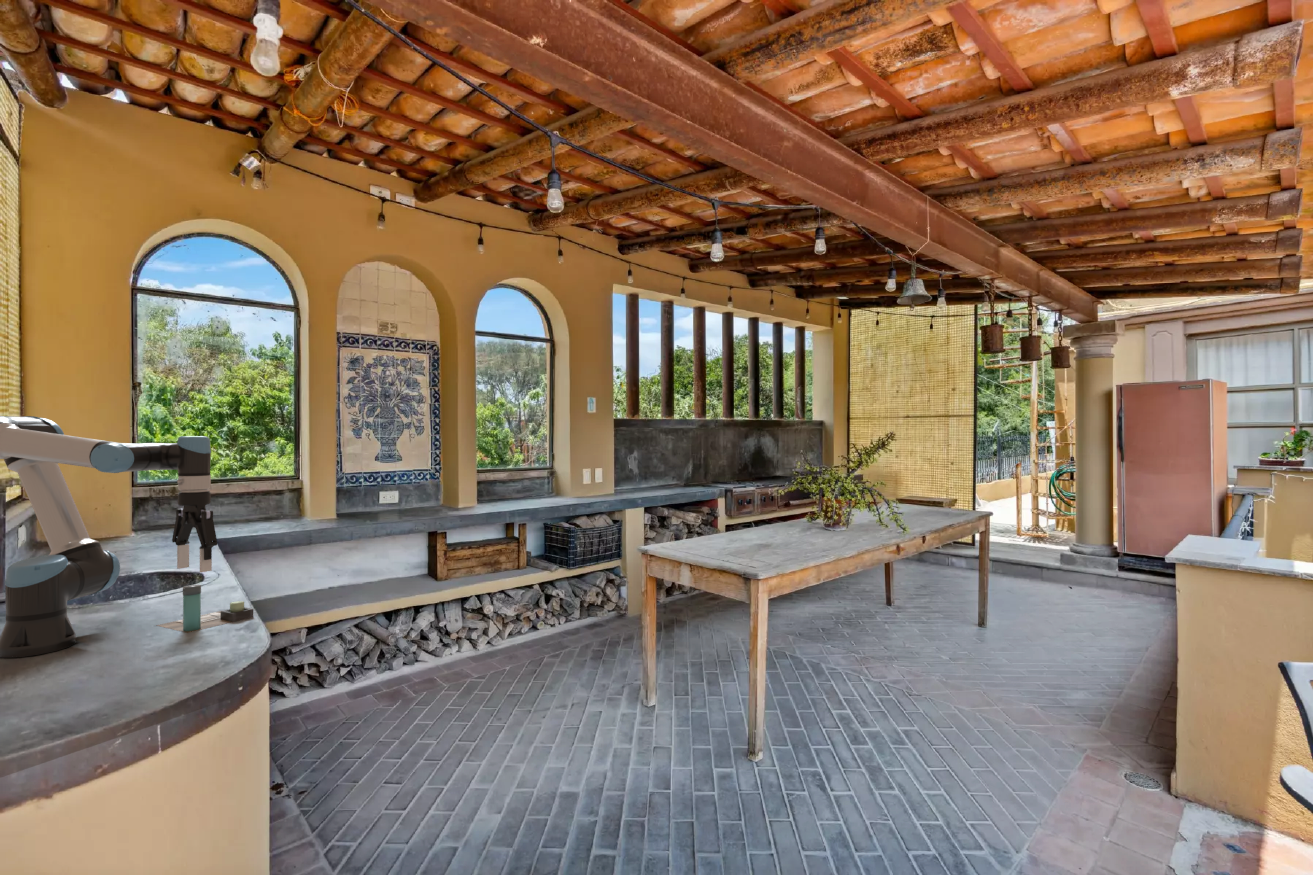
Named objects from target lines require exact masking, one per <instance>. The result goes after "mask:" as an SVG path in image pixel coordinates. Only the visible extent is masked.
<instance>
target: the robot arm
mask: <svg viewBox="0 0 1313 875" xmlns="http://www.w3.org/2000/svg"><path fill="white" fill-rule="evenodd" d="M211 455H212V450H211V439H210V437H208V436H205V435H204V436H203V435H200V436H198V435H197V436H195V435H186V436H185V435H184V436H179V437H178V438H177V442H175V443H169V442H167V443H166V442H144V443H143V442H141V443H139V442H138V443H136V442H135V443H127V442H117V441H108V440H101V439H94V438H88V437H81V436H80V437H79V436H73V435H67V434H65V433H64V431H63V429H62V428H61V426H60V425H59V424H57V423H56V422H54V421H53V420H51V419H49V418H44V417H38V416H32V415H29V416H28V415H27V416H16V415H13V416H12V415H9V416H7V415H0V460H3V461H4V463H5V466H6V468H7V470H10V471H12V472H15V473H17V475H18V477H19V480H20V481H21V484H22V486H23V488H24V491H25V493H26V495H27V498H28V499H29V502H30V506H31V507H32V510H33V511H34V514H35V516H36V518H37V520H38V523H39V525H40V528H41V530H42V532H43V535H44V537H45V539H46V542H47V544H48V546H49V549H50V553H49V554H48V555H46V554H44V555H39V556H37V557H35V556H34V557H30V558H24V559H21V560H19V561H15V562H14V563H12V564H10V565H9V566H8V567H7V569H6V573H5V578H4V579H5V580H4V585H5V586H4V589H5V595H4V596H5V623H4V627H3V628H2V631H1V633H0V658H2V659H3V658H4V659H5V658H7V659H8V658H9V659H10V658H11V659H13V658H14V659H15V658H24V657H25V658H26V657H31V656H32V657H33V656H39V655H44V654H49V653H52V652H57V651H61V650H64V649H67V648H70V647H72V646H74V645H75V644H76V642H77V640H76V636H77V635H76V634H77V633H76V632H75V630H74V628H73V625H72V623H71V620H70V618H69V617H68V601H71V600H75V599H79V598H83V597H86V596H93V595H96V594H99V592H103V591H106V590H108V589H109V588H111V587H112V586H113V585H114V584H115V583H116V582H117V579H118V577H119V576H120V573H121V563H120V559H119V558H118V556H117V555H116V554H115V553H113V552H111V551H109V550H104V549H103V547H102V545H101V543H100V541H99V540H95V539H92V538H91V537H90V535H89V532H88V530H87V527H86V525H85V523H84V520H83V518H82V516H81V514H80V512H79V508H78V507H77V505H76V502H75V500H74V498H73V496H72V493H71V490H70V489H69V487H68V486H69V485H68V484H67V481H66V480H65V477H64V474H63V472H62V470H61V468H60V467H61V466H60V465H61V464H62V465H68V466H69V465H70V466H74V467H75V466H76V467H77V466H78V467H82V468H83V467H85V468H91V469H95V470H98V472H101V473H109V474H119V473H126V472H127V473H128V472H143V471H147V472H148V471H166V470H167V471H168V470H169V471H170V470H171V471H172V470H175V471H177V476H178V477H177V480H176V482H177V489H178V490H179V492H178V493H177V504H178V506H181V507H183V508H176V510H175V521H174V527H173V531H172V538H171V542H172V543H175V545H176V552H177V554H176V559H177V561H176V562H177V563H176V569H179V570H180V569H187V568H190V541H189V538H190V535H191V533H192V530H193V528H195V531H196V533H197V536H198V540H199V542H200V546H199V547H198V549H199V573H206V572H212V568H213V567H212V564H213V562H212V561H213V560H212V558H213V555H212V554H213V553H212V550H213V548H214V546H217V545H218V540H217V539H218V538H217V534H216V533H217V532H216V528H215V523H214V510H207V509H206V505H209V504H211V500H212V498H211V494H212V492H211V491H210V489H212V488H211V487H212V486H211V485H212V484H211V483H212V481H211V480H212V475H211V457H212V456H211ZM59 464H60V465H59Z"/></svg>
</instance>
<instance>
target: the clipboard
mask: <svg viewBox="0 0 1313 875" xmlns="http://www.w3.org/2000/svg"><path fill="white" fill-rule="evenodd" d="M252 618H254V608H251V607H246V606H244V610H243V611H239V612H235V613H233V612H230V608H229V609H224V610H219V611H214V612H210V613H206V614H201V628H200V629H199V630H195V631H183V618H182V619H179V620H174V621H170V622H165V623H159V624H156V625H155V626H156V627H162V628H165V629H167V630H172V631H173V630H174V631H177V632H181V633H187V634H189V633H194V632H197V631H201V630H206V629H211V628H215V627H218V626H222V625H223V626H224V625H225V624H226V625H227V624H231V623H234V622H239V621H243V620H248V619H252Z"/></svg>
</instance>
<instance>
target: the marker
mask: <svg viewBox="0 0 1313 875" xmlns="http://www.w3.org/2000/svg"><path fill="white" fill-rule="evenodd" d="M201 593H202V584H201V585H200V584H191V585H184V586H183V587H182V608H183V609H182V619H183V631H194V632H196V631H195V630H198V631H200V630H199V629H200V628H201V615H202V612H201V610H202V609H201V607H202V606H201V604H202V603H201V602H202V600H201V599H202V597H201V596H202V594H201Z"/></svg>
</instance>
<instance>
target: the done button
mask: <svg viewBox="0 0 1313 875" xmlns="http://www.w3.org/2000/svg"><path fill="white" fill-rule="evenodd" d="M244 607H245V601H242V600H239V601H238V600H237V601H233V602H230V603H229V609H230V612H233V613H235V612H239V611H243V610H244Z"/></svg>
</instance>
